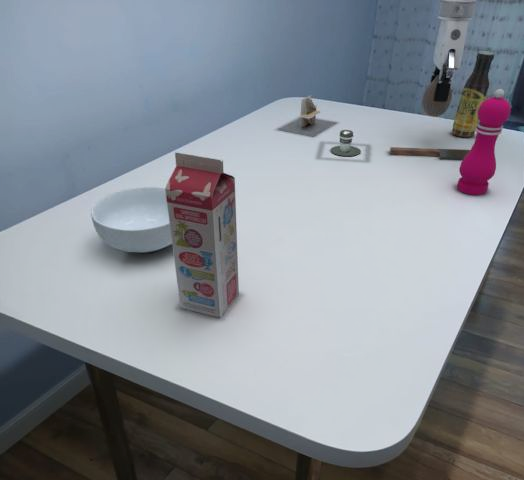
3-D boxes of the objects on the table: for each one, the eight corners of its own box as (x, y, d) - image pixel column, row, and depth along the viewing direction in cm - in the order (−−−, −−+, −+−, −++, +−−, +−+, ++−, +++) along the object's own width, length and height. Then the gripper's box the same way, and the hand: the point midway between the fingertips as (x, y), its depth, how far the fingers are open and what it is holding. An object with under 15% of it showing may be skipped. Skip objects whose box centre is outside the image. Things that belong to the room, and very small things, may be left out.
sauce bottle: (446, 134, 137) (466, 51, 124) (458, 129, 140) (478, 48, 127) (468, 140, 133) (490, 55, 120) (479, 135, 136) (502, 52, 123)
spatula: (472, 152, 126) (473, 147, 125) (477, 160, 121) (478, 155, 121) (388, 149, 128) (389, 144, 127) (390, 157, 123) (391, 152, 122)
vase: (422, 109, 129) (430, 71, 123) (449, 112, 127) (458, 74, 121) (416, 115, 125) (424, 77, 119) (444, 119, 122) (453, 80, 116)
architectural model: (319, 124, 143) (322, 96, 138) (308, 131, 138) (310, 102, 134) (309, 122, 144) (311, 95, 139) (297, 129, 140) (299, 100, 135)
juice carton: (201, 285, 79) (187, 144, 65) (238, 294, 77) (233, 151, 63) (180, 307, 75) (161, 161, 60) (220, 318, 73) (209, 169, 58)
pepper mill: (491, 197, 105) (524, 94, 92) (456, 194, 106) (484, 92, 93) (486, 184, 111) (516, 85, 97) (452, 181, 111) (478, 83, 98)
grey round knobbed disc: (368, 145, 130) (371, 125, 127) (367, 161, 121) (370, 140, 118) (322, 142, 131) (324, 122, 128) (318, 158, 123) (320, 137, 119)
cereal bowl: (93, 229, 93) (84, 193, 89) (178, 215, 98) (174, 180, 94) (106, 274, 82) (97, 235, 77) (203, 255, 86) (200, 218, 82)
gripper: (482, 16, 105) (459, 107, 116) (465, 6, 118) (446, 88, 129) (445, 16, 105) (427, 106, 117) (433, 5, 118) (417, 87, 130)
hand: (437, 96), depth 123 cm, fingers closed on vase, 6 cm apart
